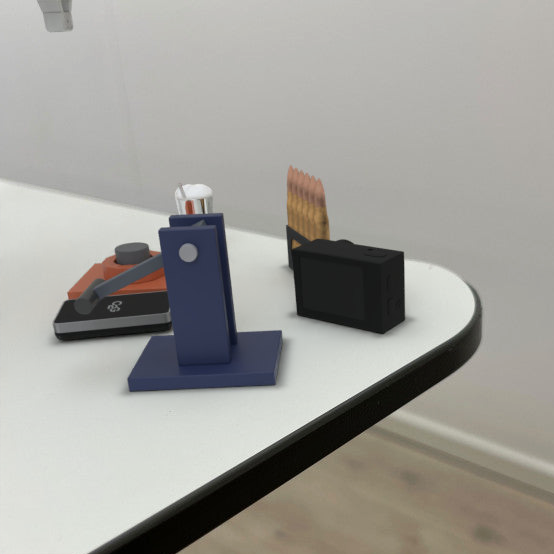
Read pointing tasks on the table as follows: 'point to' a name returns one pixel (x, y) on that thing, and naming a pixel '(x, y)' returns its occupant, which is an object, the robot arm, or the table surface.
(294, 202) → the ammunition clip
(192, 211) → the milkshake
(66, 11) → the robot arm
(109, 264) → the button block
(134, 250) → the button
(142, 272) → the switch lever
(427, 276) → the table surface
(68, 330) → the external hard drive
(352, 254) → the digital camera
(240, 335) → the switch bracket
